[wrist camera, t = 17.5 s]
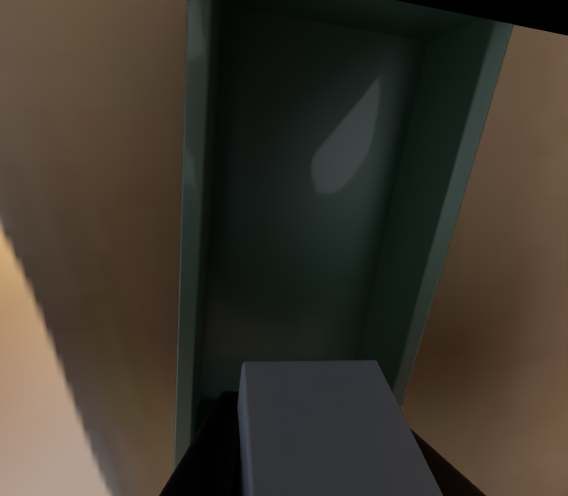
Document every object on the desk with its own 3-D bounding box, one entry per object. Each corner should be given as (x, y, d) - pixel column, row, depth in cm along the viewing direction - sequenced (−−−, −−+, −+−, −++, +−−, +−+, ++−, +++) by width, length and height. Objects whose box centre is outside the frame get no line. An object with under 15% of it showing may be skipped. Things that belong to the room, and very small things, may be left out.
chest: (350, 407, 13) (379, 486, 10) (188, 404, 12) (172, 489, 9) (438, 28, 9) (525, -11, 6) (206, -14, 8) (188, -79, 5)
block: (344, 453, 9) (394, 618, 6) (231, 460, 8) (234, 643, 6) (377, 358, 7) (458, 522, 5) (242, 359, 7) (252, 544, 4)
